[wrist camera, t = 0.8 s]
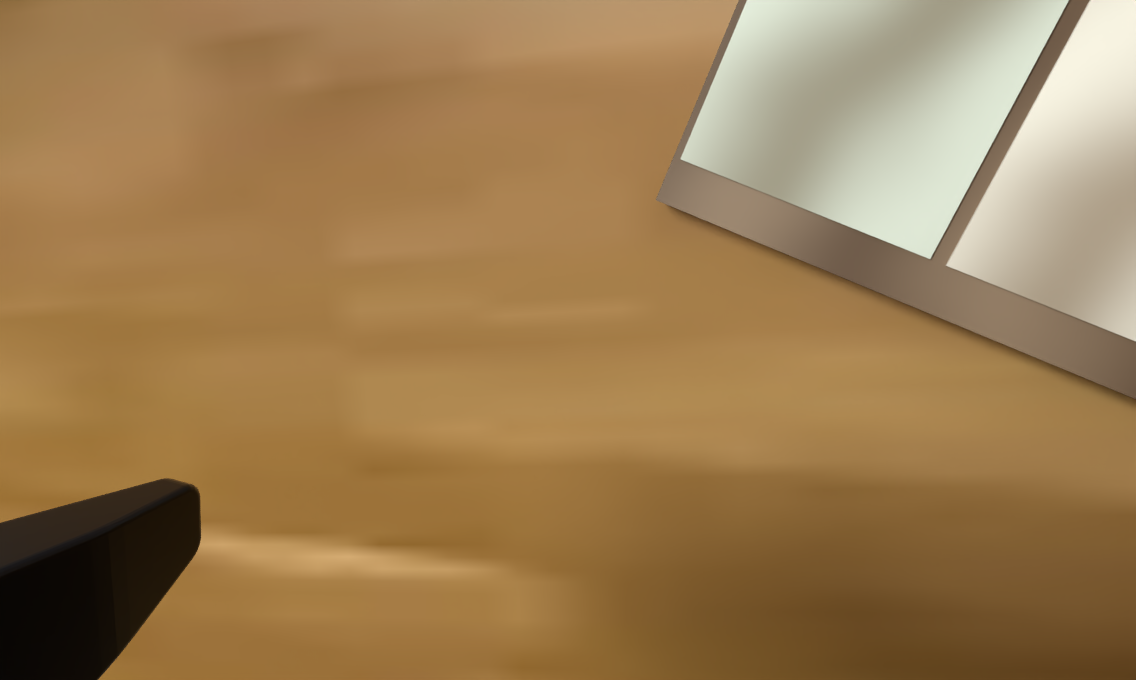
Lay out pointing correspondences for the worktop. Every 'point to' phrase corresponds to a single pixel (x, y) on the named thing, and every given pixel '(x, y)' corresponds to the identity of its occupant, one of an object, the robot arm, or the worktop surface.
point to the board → (937, 160)
